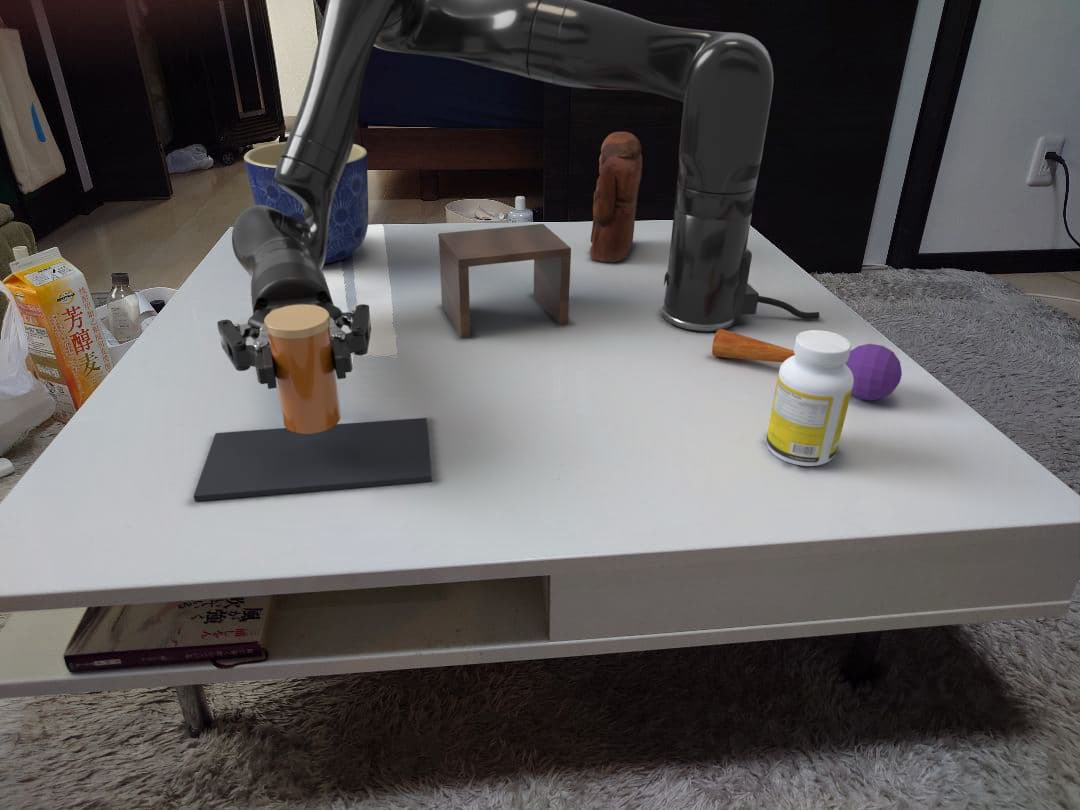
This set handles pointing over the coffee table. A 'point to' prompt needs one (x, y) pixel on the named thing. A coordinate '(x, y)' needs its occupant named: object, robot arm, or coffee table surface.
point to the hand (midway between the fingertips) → (306, 373)
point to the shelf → (504, 248)
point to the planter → (346, 206)
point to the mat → (315, 459)
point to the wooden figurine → (616, 197)
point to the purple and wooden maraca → (867, 363)
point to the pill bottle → (811, 399)
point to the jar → (304, 367)
